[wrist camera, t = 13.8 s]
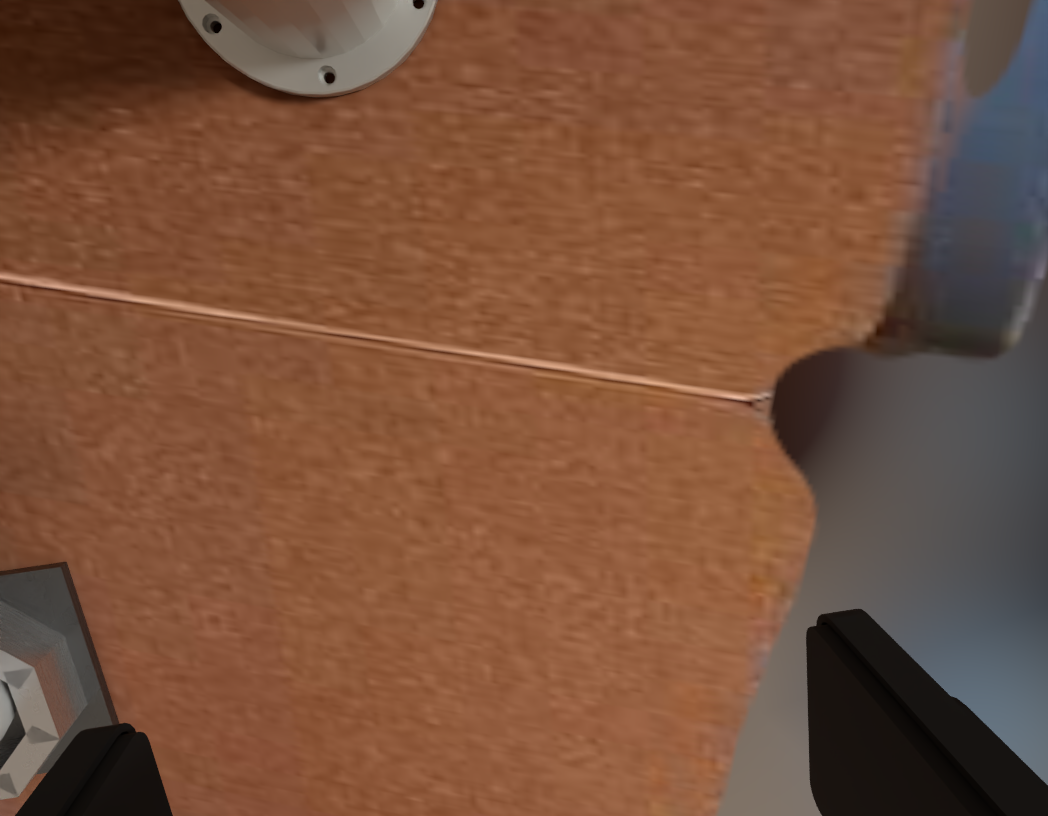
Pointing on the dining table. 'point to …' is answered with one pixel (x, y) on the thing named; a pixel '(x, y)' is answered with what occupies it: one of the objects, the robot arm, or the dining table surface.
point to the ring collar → (46, 672)
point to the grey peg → (6, 708)
